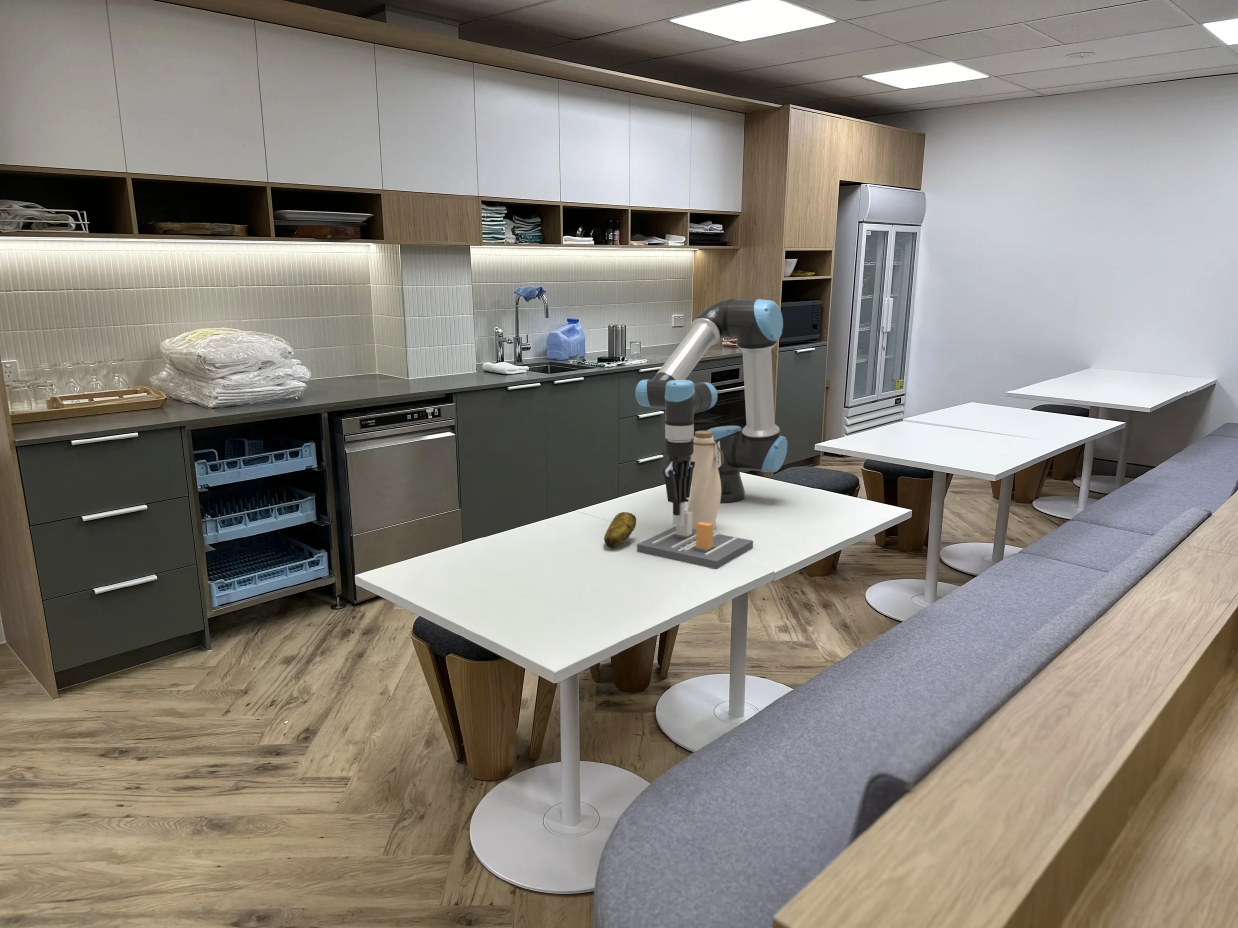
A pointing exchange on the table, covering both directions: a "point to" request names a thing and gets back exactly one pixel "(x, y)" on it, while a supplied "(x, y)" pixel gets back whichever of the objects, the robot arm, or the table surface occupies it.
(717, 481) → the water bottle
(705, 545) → the fader
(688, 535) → the fader
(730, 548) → the console
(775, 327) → the robot arm
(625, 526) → the potato
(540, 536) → the table surface
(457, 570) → the table surface
